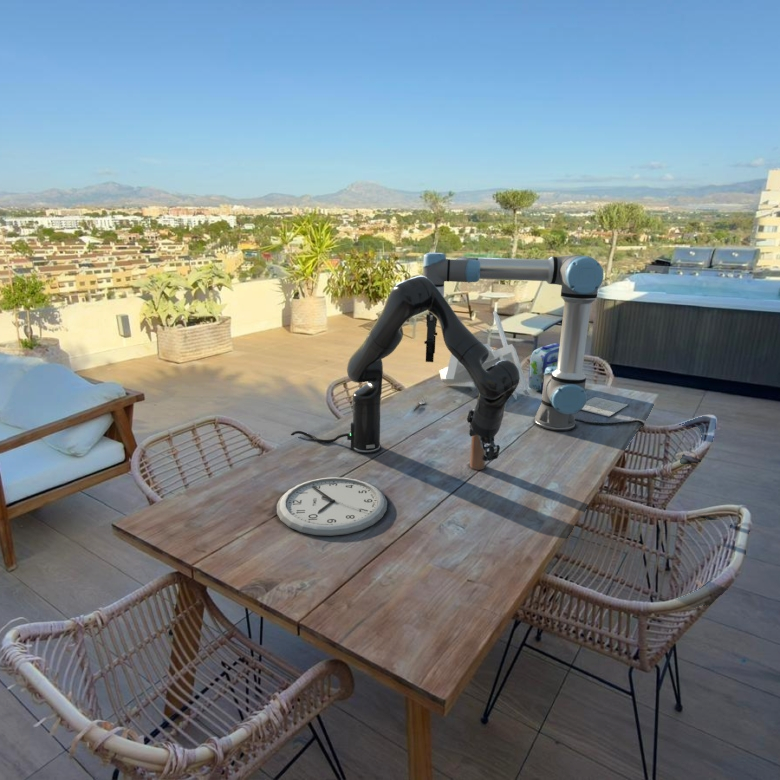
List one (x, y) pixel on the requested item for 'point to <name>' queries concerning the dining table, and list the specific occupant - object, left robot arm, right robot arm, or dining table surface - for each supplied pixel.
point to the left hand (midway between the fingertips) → (479, 446)
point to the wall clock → (331, 506)
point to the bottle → (476, 454)
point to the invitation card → (603, 406)
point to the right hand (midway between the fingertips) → (430, 357)
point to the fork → (420, 403)
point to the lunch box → (542, 364)
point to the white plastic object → (460, 375)
